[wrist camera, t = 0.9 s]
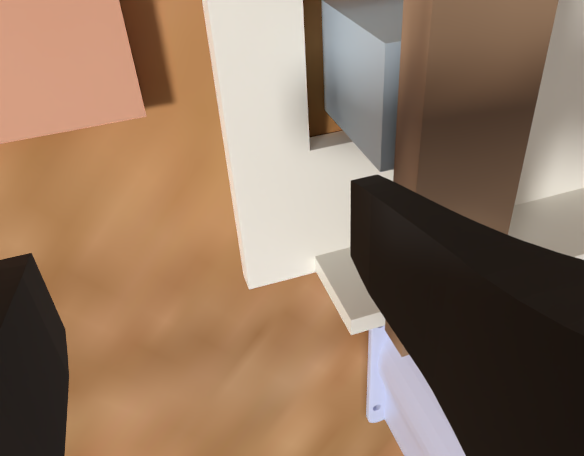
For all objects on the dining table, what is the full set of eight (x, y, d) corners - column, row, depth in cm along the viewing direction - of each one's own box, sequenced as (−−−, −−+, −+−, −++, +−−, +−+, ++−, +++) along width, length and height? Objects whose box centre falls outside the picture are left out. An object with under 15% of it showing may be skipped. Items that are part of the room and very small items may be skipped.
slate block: (419, 90, 22) (492, 146, 18) (324, 109, 21) (380, 172, 17) (427, -17, 20) (515, 21, 16) (320, -1, 19) (385, 43, 15)
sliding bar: (466, 306, 22) (486, 330, 21) (384, 330, 21) (401, 357, 20) (576, -316, 11) (629, -331, 10) (421, -311, 11) (461, -327, 9)
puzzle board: (587, 187, 28) (669, 243, 24) (243, 274, 24) (275, 359, 20) (734, -298, 17) (923, -334, 14) (160, -275, 14) (195, -317, 10)
